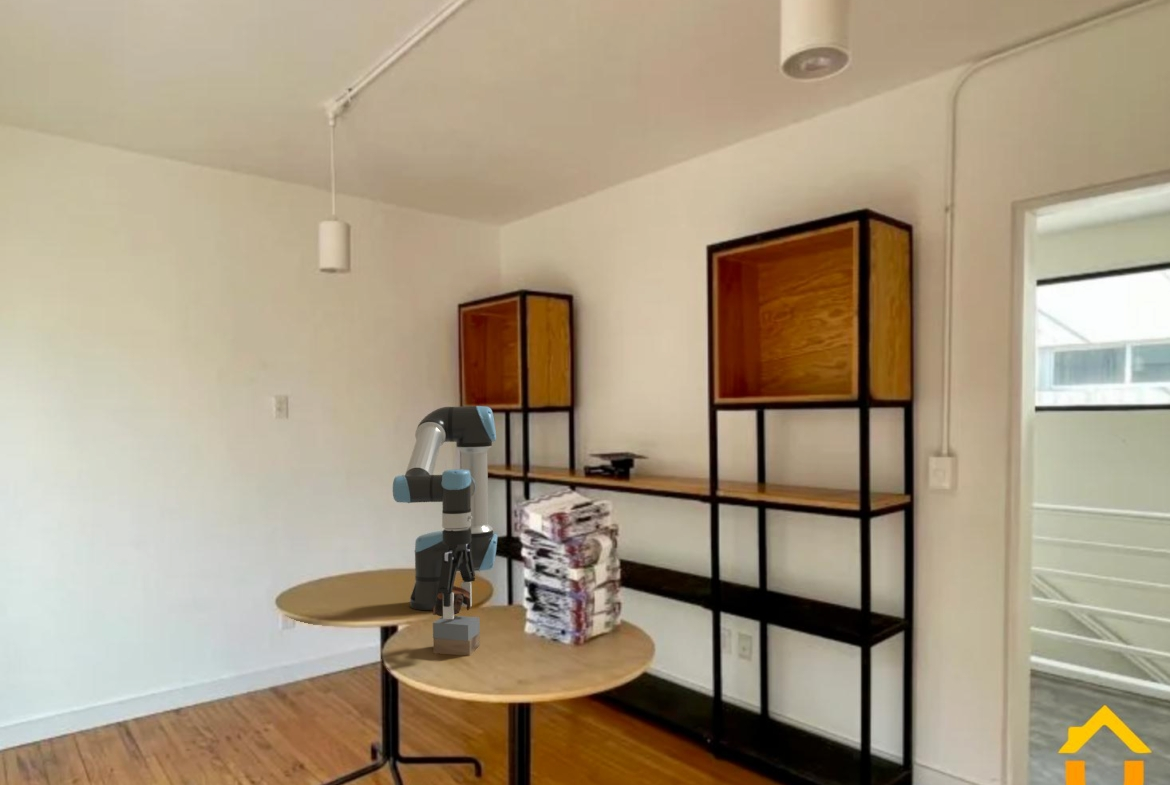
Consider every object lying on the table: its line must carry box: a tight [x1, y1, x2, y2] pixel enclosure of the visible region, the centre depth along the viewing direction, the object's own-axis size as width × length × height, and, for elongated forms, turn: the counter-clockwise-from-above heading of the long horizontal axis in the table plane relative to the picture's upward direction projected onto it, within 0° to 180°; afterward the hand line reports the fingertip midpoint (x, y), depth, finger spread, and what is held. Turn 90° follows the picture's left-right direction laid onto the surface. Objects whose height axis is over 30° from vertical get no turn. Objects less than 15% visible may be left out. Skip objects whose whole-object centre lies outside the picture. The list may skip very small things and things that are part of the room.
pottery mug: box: [432, 585, 471, 618], centre depth 181 cm, size 12×10×8 cm
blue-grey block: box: [432, 615, 481, 641], centre depth 181 cm, size 7×10×4 cm
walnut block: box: [432, 632, 481, 656], centre depth 181 cm, size 7×10×4 cm
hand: (457, 612), depth 182 cm, fingers closed on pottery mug, 11 cm apart
